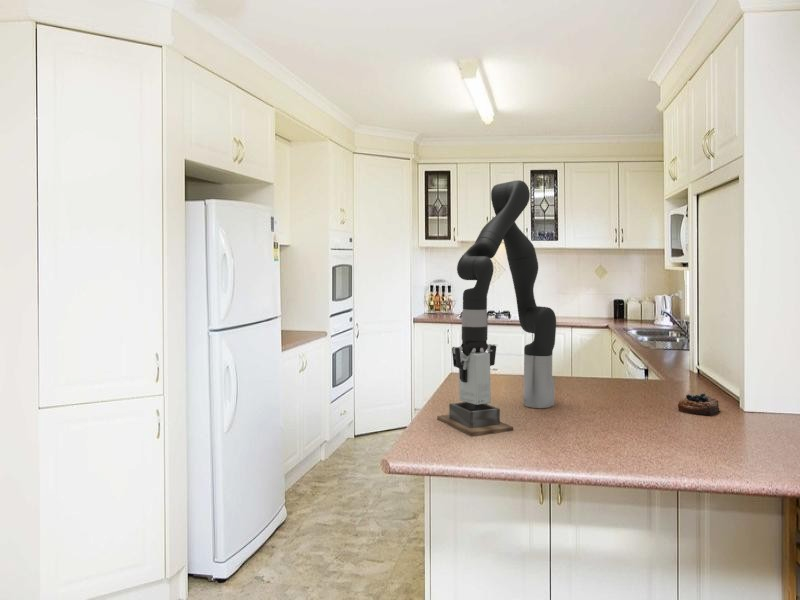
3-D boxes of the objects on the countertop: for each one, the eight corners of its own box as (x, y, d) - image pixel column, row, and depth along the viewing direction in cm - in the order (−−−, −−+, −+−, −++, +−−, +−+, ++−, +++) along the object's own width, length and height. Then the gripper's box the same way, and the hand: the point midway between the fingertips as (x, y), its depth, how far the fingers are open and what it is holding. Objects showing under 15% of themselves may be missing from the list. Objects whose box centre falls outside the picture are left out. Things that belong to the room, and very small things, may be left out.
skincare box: (491, 403, 175) (492, 352, 175) (475, 405, 172) (476, 354, 171) (472, 398, 182) (473, 349, 182) (457, 400, 179) (457, 350, 178)
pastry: (722, 411, 194) (723, 393, 194) (711, 418, 186) (711, 399, 185) (687, 406, 202) (687, 388, 202) (674, 412, 193) (674, 394, 193)
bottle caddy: (476, 414, 190) (476, 397, 189) (513, 430, 171) (513, 411, 171) (437, 419, 184) (437, 401, 184) (471, 436, 166) (471, 416, 165)
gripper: (488, 322, 182) (487, 377, 183) (446, 324, 176) (446, 380, 177) (502, 324, 175) (501, 381, 176) (459, 326, 170) (459, 385, 171)
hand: (474, 380), depth 177 cm, fingers closed on skincare box, 6 cm apart
